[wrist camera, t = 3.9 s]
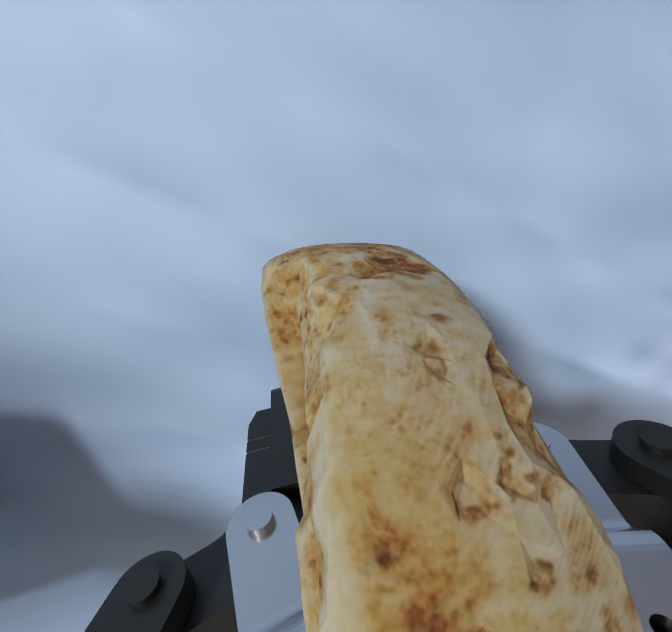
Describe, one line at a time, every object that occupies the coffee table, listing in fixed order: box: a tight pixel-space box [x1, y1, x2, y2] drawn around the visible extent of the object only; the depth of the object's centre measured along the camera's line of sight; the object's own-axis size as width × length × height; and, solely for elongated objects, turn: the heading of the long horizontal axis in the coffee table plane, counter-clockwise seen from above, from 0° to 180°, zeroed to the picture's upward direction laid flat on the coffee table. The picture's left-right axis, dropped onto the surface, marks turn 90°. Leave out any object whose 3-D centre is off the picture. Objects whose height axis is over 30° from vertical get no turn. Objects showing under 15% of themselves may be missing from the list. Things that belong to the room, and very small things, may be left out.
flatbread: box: [262, 243, 643, 632], centre depth 8 cm, size 10×4×10 cm, turn 7°
